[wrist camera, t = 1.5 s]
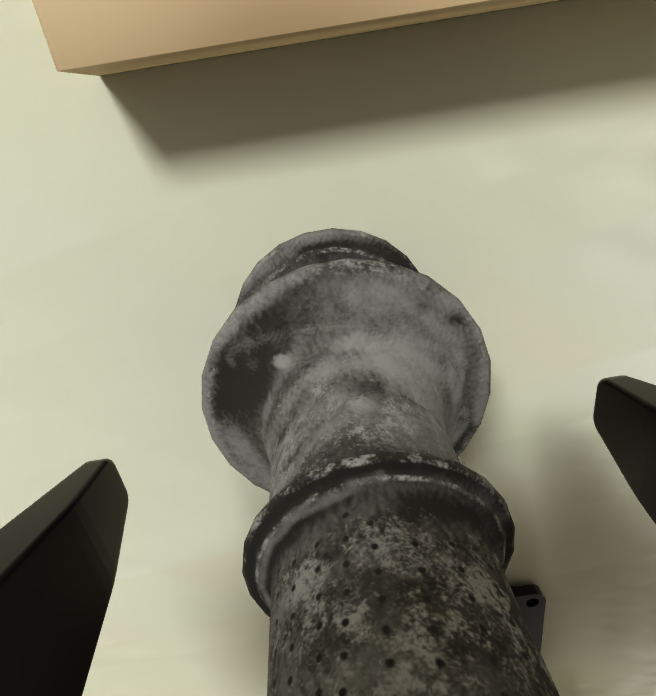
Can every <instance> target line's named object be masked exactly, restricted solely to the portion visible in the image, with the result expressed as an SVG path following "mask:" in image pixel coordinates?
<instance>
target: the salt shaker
mask: <svg viewBox="0 0 656 696" xmlns="http://www.w3.org/2000/svg"><path fill="white" fill-rule="evenodd" d="M490 367H491V360H490V357H489V354H488V351H487V348H486V345H485V342H484V338H483V335H482V332H481V329H480V328H479V326H478V325H477V323H476V322H475V321H474V319H473V318H472V317H471V315H470V314H469V312H468V311H467V310H466V308H465V307H464V305H463V304H462V303H461V301H460V300H459V299H458V298H457V297H456V296H454V295H453V294H451V293H450V292H449V291H447V290H446V289H445V288H443V287H442V286H441V285H439V284H438V283H437V282H435V281H434V280H433V279H431V278H430V277H429V276H426V275H424V274H421V273H419V272H418V270H417V269H416V268H415V266H414V265H413V264H412V262H411V261H410V260H409V258H408V257H407V256H406V255H404V254H403V253H402V252H400V251H399V250H398V249H396V248H395V247H394V246H392V245H391V244H390V243H388V242H387V241H385V240H383V239H380V238H378V237H375V236H372V235H370V234H367V233H364V232H362V231H355V230H344V229H334V228H332V229H326V230H320V231H314V232H308V233H304V234H302V235H299V236H297V237H295V238H293V239H291V240H289V241H286V242H284V243H282V244H280V245H278V246H277V247H276V248H275V249H273V250H272V251H271V252H270V253H269V254H267V255H266V256H265V257H264V258H263V259H261V260H260V261H259V262H258V263H257V265H256V266H255V267H254V269H253V270H252V272H251V273H250V275H249V276H248V278H247V279H246V281H245V282H244V284H243V286H242V289H241V292H240V295H239V298H238V301H237V304H236V307H235V309H234V310H233V312H232V313H231V315H230V316H229V318H228V319H227V321H226V322H225V323H224V325H223V326H222V328H221V329H220V331H219V332H218V334H217V335H216V336H215V338H214V339H213V342H212V345H211V348H210V351H209V355H208V358H207V361H206V364H205V367H204V370H203V374H202V410H203V413H204V416H205V419H206V422H207V425H208V428H209V431H210V434H211V437H212V440H213V441H214V443H215V444H216V445H217V447H218V448H219V450H220V451H221V452H222V454H223V455H224V457H225V458H226V459H227V461H228V462H229V464H230V465H231V466H232V467H234V468H235V469H236V470H237V471H238V472H240V473H241V474H242V475H243V476H245V477H246V478H247V479H248V480H249V481H251V482H252V483H253V484H254V485H256V486H258V487H260V488H262V489H264V490H267V491H269V492H270V499H269V502H268V504H267V505H266V506H265V507H264V508H263V509H262V510H261V511H260V512H259V514H258V515H257V516H256V517H255V520H254V522H253V524H252V526H251V528H250V531H249V533H248V535H247V537H246V539H245V542H244V553H243V570H242V573H243V576H244V579H245V581H246V584H247V587H248V590H249V593H250V595H251V597H252V598H253V599H254V600H255V601H256V603H257V604H258V605H259V606H260V607H261V609H262V610H263V611H264V612H265V613H266V614H267V615H268V616H269V617H270V633H269V660H268V687H267V696H559V693H558V691H557V689H556V687H555V685H554V682H553V680H552V678H551V676H550V674H549V671H548V669H547V667H546V665H545V662H544V660H543V658H542V656H541V654H540V651H539V649H538V647H537V645H536V643H535V640H534V638H533V636H532V634H531V631H530V629H529V627H528V625H527V623H526V620H525V618H524V616H523V614H522V612H521V609H520V607H519V605H518V603H517V600H516V598H515V596H514V594H513V592H512V589H511V587H510V585H509V583H508V581H507V578H506V576H505V574H504V573H505V571H506V568H507V566H508V564H509V561H510V559H511V556H512V554H513V552H514V533H515V526H514V523H513V521H512V518H511V515H510V512H509V510H508V507H507V504H506V502H505V500H504V498H503V497H502V496H501V495H500V494H499V493H498V492H497V491H496V489H495V488H494V487H493V486H492V485H491V484H490V483H489V482H488V480H487V479H486V478H484V477H483V476H481V475H479V474H478V473H476V472H474V471H472V470H471V469H469V468H467V467H465V466H464V465H462V464H460V462H459V459H458V457H457V456H458V455H459V454H460V453H461V452H462V451H463V450H464V449H465V447H466V446H467V444H468V443H469V441H470V439H471V438H472V436H473V435H474V433H475V432H476V430H477V428H478V427H479V425H480V424H481V421H482V418H483V415H484V411H485V408H486V405H487V402H488V399H489V395H490Z"/></svg>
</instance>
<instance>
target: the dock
mask: <svg viewBox="0 0 656 696" xmlns="http://www.w3.org/2000/svg"><path fill="white" fill-rule="evenodd" d="M32 1H33V4H34V7H35V10H36V13H37V16H38V18H39V21H40V24H41V27H42V30H43V33H44V35H45V38H46V41H47V44H48V47H49V50H50V52H51V55H52V58H53V61H54V64H55V67H56V69H57V71H60V72H69V73H78V74H87V75H96V76H100V75H106V74H112V73H119V72H125V71H131V70H137V69H143V68H149V67H155V66H161V65H167V64H174V63H180V62H186V61H192V60H198V59H204V58H210V57H216V56H222V55H228V54H235V53H241V52H247V51H253V50H259V49H265V48H271V47H277V46H283V45H290V44H296V43H302V42H308V41H314V40H320V39H326V38H332V37H338V36H344V35H351V34H357V33H363V32H369V31H375V30H381V29H387V28H393V27H399V26H406V25H412V24H418V23H424V22H430V21H436V20H442V19H448V18H454V17H460V16H467V15H473V14H479V13H485V12H491V11H497V10H503V9H509V8H515V7H522V6H528V5H534V4H540V3H546V2H552V1H558V0H32Z"/></svg>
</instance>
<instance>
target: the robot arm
mask: <svg viewBox="0 0 656 696" xmlns="http://www.w3.org/2000/svg"><path fill="white" fill-rule="evenodd" d="M593 418H594V424H595V427H596V429H597V431H598V433H599V434H600V436H601V438H602V439H603V441H604V443H605V445H606V446H607V448H608V450H609V451H610V453H611V455H612V457H613V458H614V460H615V462H616V463H617V465H618V467H619V469H620V470H621V472H622V474H623V475H624V477H625V479H626V481H627V482H628V484H629V486H630V487H631V489H632V491H633V492H634V494H635V495H636V497H637V499H638V500H639V501H640V503H641V504H642V506H643V507H644V509H645V510H646V511H647V513H648V514H649V516H650V517H651V518H652V520H653V521H654V522H655V524H656V385H653V384H650V383H647V382H644V381H641V380H638V379H635V378H631V377H628V376H615V377H609V378H604V379H602V380H600V381H599V383H598V386H597V392H596V399H595V406H594V414H593ZM127 508H128V494H127V490H126V488H125V486H124V484H123V481H122V479H121V477H120V475H119V473H118V470H117V468H116V466H115V464H114V463H113V461H112V460H110V459H101V460H95V461H89V462H86V463H85V464H83V465H82V466H81V467H79V468H78V469H77V470H76V471H74V472H73V473H72V474H70V475H69V476H68V477H67V478H65V479H64V480H63V481H61V482H60V483H59V484H58V485H56V486H55V487H54V488H52V489H51V490H50V491H49V492H47V493H46V494H45V495H43V496H42V497H41V498H40V499H38V500H37V501H36V502H34V503H33V504H32V505H31V506H29V507H28V508H27V509H25V510H24V511H23V512H22V513H20V514H19V515H18V516H16V517H15V518H14V519H13V520H11V521H10V522H9V523H7V524H6V525H5V526H4V527H2V528H1V529H0V696H82V694H83V690H84V687H85V683H86V680H87V676H88V673H89V669H90V666H91V662H92V659H93V656H94V652H95V649H96V645H97V642H98V638H99V635H100V631H101V628H102V624H103V621H104V617H105V614H106V610H107V607H108V603H109V600H110V596H111V593H112V589H113V585H114V581H115V576H116V571H117V566H118V560H119V554H120V548H121V542H122V537H123V531H124V525H125V519H126V514H127ZM511 589H512V592H513V594H514V596H515V598H516V600H517V603H518V605H519V607H520V609H521V612H522V614H523V616H524V618H525V620H526V623H527V625H528V627H529V629H530V631H531V634H532V636H533V638H534V640H535V643H536V645H537V647H538V649H539V651H540V650H541V640H542V631H543V621H544V612H545V602H546V600H545V597H544V595H543V593H542V591H541V589H540V587H538V586H537V585H523V586H517V587H511Z"/></svg>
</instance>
